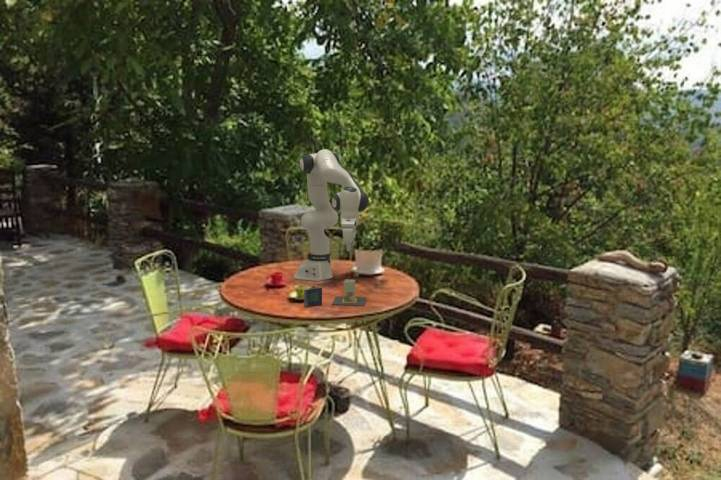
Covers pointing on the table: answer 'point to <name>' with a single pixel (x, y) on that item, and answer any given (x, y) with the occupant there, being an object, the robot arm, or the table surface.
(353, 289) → the sage cube
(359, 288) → the table surface
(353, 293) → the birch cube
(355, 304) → the mat
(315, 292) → the dark blue box
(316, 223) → the robot arm
